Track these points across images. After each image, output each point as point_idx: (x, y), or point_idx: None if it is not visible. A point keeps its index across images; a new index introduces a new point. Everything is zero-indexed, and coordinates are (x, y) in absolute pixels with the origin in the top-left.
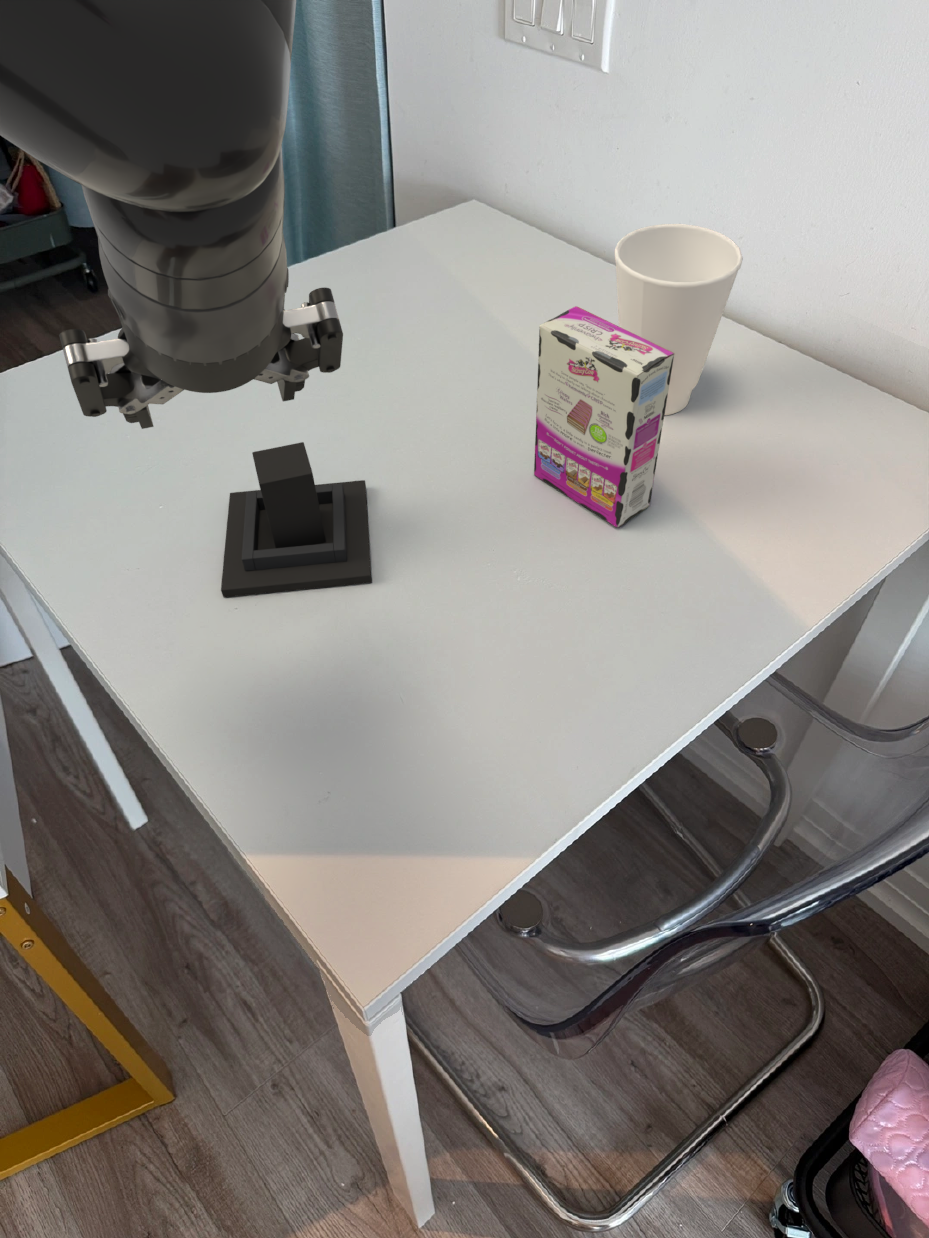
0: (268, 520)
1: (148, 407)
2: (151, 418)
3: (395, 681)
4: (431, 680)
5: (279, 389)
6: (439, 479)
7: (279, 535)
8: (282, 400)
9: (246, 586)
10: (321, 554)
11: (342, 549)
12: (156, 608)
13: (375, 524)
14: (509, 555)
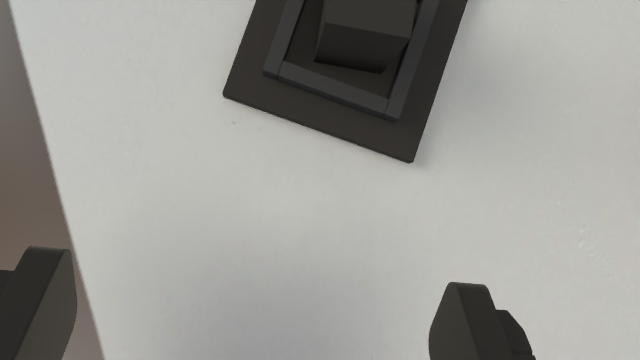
0: (318, 44)
1: (69, 284)
2: (75, 297)
3: (375, 331)
4: (415, 349)
5: (437, 319)
6: (567, 18)
7: (325, 55)
8: (429, 339)
9: (256, 103)
10: (366, 108)
11: (396, 118)
12: (136, 72)
13: (454, 60)
14: (588, 200)
